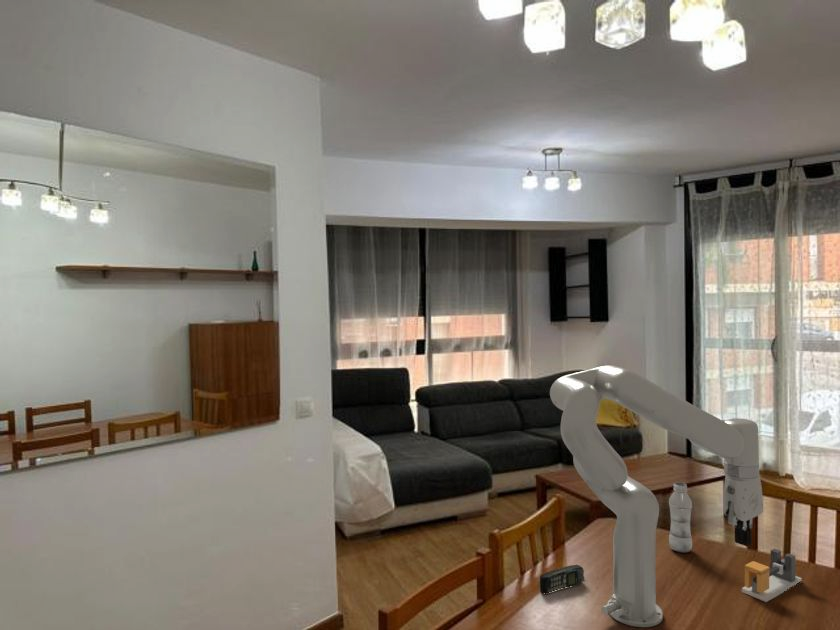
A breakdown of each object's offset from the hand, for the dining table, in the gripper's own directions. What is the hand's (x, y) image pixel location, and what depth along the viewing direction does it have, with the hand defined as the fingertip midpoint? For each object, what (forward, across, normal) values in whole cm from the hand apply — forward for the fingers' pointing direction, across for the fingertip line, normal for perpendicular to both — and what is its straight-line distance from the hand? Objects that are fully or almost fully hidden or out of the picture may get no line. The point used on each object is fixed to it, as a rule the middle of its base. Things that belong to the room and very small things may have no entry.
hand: (743, 543), depth 141 cm
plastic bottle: (+15, +14, +26) cm, 34 cm away
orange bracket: (+13, +7, 0) cm, 15 cm away
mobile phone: (+15, -30, +31) cm, 46 cm away
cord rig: (+15, +14, 0) cm, 21 cm away
